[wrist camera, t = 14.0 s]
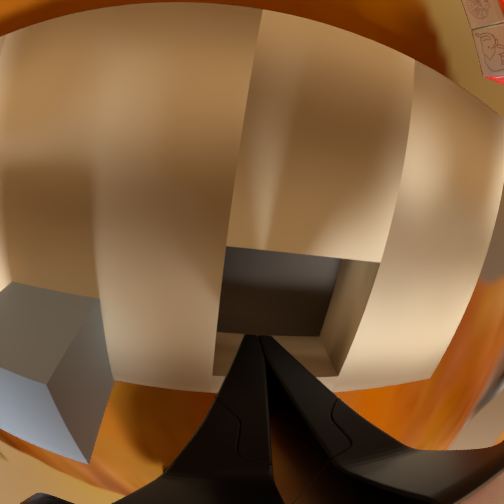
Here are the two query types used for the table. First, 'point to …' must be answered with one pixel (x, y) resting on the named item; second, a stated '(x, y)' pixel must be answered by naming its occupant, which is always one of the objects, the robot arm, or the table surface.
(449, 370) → the table surface
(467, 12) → the stack of blocks
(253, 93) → the board
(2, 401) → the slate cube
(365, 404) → the table surface
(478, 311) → the table surface
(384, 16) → the table surface
